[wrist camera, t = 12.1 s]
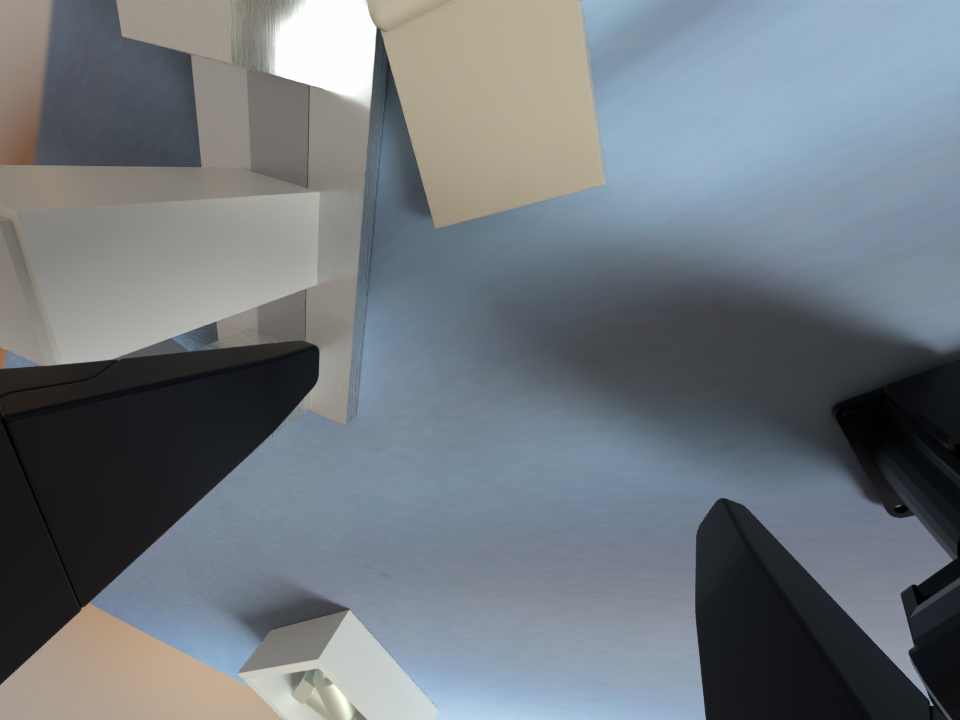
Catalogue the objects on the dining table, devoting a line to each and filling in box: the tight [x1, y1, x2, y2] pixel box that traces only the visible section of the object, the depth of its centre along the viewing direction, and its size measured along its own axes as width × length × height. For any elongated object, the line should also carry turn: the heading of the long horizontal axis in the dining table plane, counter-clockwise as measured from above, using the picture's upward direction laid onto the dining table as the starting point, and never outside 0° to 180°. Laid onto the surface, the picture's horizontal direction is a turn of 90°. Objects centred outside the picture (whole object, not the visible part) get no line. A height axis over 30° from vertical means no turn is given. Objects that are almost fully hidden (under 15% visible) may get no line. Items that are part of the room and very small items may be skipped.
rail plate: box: [116, 0, 389, 449], centre depth 21 cm, size 10×23×6 cm, turn 166°
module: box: [0, 165, 320, 366], centre depth 17 cm, size 5×5×12 cm
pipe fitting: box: [291, 669, 367, 720], centre depth 42 cm, size 8×4×7 cm
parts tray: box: [237, 610, 438, 720], centre depth 41 cm, size 14×14×4 cm
